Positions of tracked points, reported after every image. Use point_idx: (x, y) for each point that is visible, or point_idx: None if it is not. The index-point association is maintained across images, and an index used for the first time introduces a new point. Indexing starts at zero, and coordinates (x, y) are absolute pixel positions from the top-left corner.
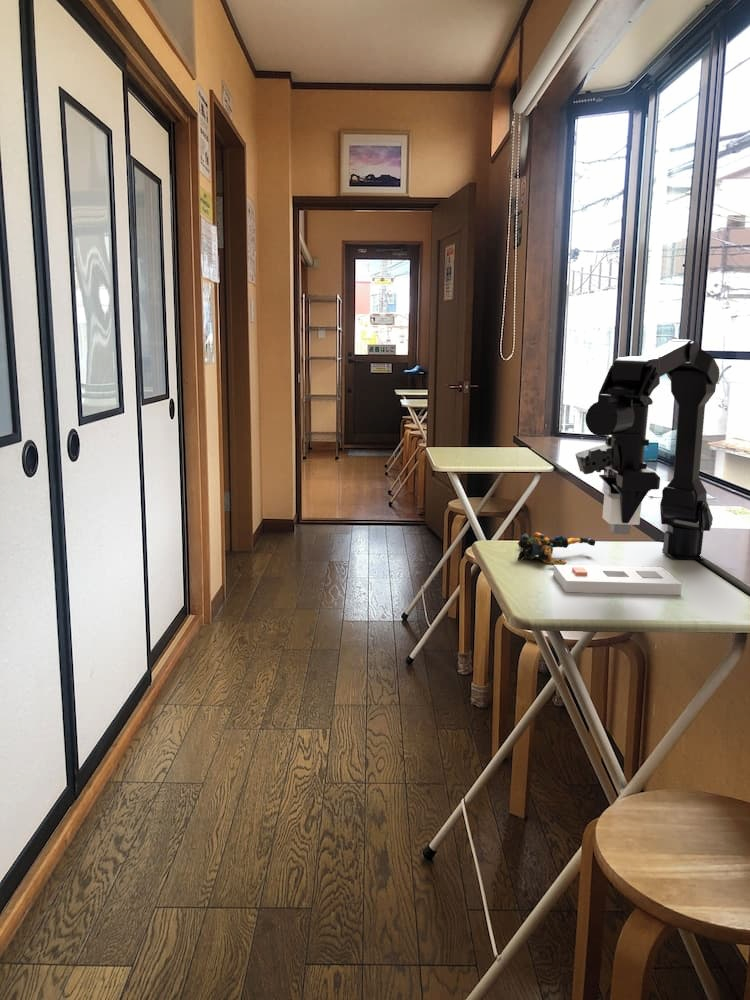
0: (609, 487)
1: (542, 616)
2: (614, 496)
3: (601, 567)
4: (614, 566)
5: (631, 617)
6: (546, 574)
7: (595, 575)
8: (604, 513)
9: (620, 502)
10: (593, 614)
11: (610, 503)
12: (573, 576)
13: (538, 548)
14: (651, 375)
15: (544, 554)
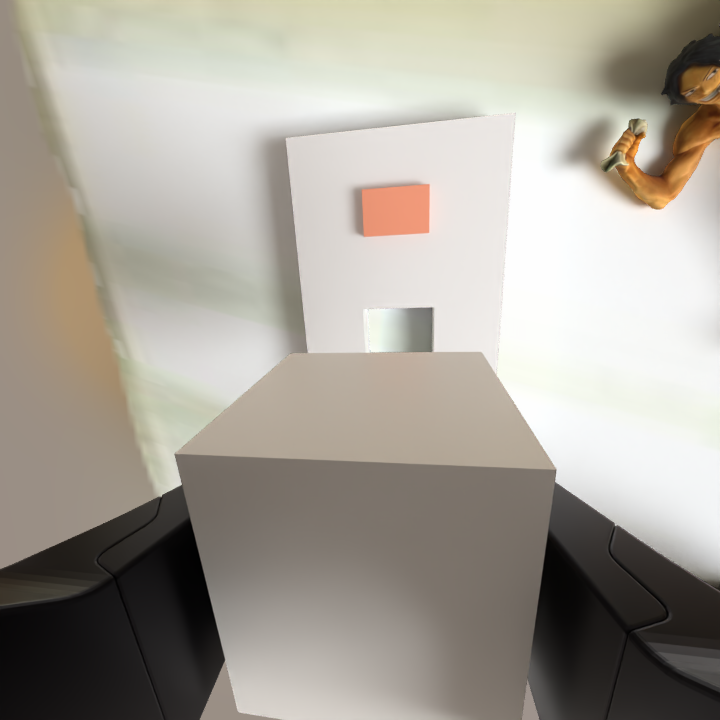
0: (710, 645)
1: (49, 28)
2: (340, 532)
3: (478, 316)
4: (493, 366)
5: (130, 306)
6: (514, 97)
7: (371, 269)
8: (437, 367)
9: (183, 511)
10: (119, 206)
11: (243, 420)
12: (346, 177)
13: None
14: None
15: (675, 70)
